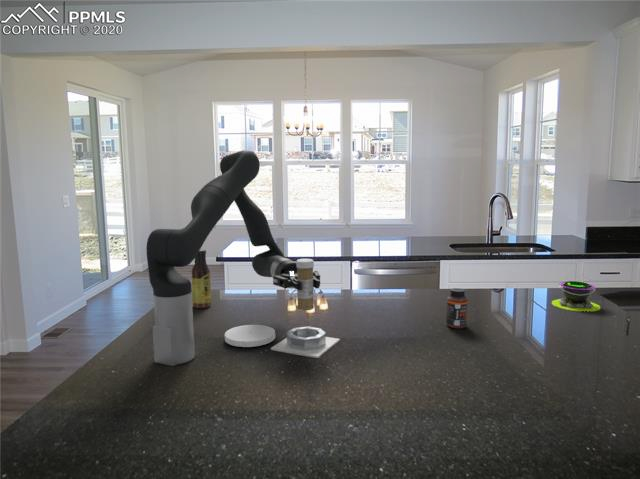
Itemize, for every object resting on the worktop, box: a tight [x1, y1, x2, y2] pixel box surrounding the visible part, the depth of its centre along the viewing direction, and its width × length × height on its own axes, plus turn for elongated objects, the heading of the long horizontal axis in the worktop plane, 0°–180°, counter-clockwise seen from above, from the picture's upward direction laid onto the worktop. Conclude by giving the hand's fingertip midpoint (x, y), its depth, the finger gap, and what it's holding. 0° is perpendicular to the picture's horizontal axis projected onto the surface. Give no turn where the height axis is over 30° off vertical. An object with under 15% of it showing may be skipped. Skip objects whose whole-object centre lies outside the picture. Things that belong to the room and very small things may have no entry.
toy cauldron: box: [551, 273, 601, 313], centre depth 170 cm, size 15×15×11 cm
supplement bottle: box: [445, 288, 468, 330], centre depth 149 cm, size 6×6×11 cm
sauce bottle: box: [191, 248, 212, 309], centre depth 171 cm, size 7×6×20 cm
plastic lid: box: [224, 324, 276, 348], centre depth 139 cm, size 14×14×2 cm
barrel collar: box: [286, 325, 327, 351], centre depth 135 cm, size 10×10×3 cm
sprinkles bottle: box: [296, 258, 315, 311], centre depth 133 cm, size 5×5×13 cm
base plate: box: [270, 336, 341, 359], centre depth 135 cm, size 14×14×1 cm
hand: (309, 285), depth 130 cm, fingers closed on sprinkles bottle, 4 cm apart
